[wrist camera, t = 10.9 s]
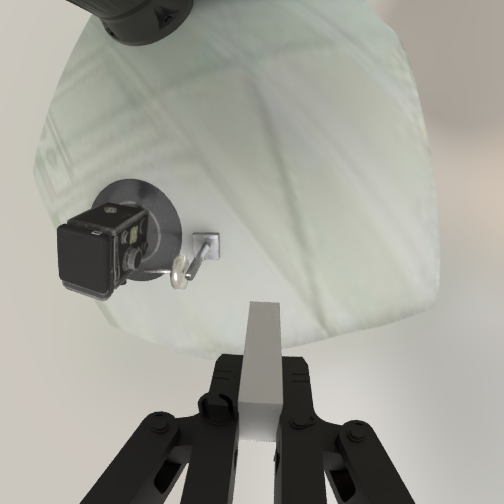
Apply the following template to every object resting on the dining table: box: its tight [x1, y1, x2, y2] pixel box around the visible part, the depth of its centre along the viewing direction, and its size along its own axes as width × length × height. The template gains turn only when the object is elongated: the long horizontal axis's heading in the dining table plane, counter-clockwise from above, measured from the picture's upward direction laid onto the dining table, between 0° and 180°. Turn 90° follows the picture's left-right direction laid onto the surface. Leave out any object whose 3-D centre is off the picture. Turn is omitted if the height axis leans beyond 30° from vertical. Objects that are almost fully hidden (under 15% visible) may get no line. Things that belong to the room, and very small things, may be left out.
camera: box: [57, 202, 149, 301], centre depth 38 cm, size 10×10×15 cm
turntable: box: [91, 179, 182, 281], centre depth 45 cm, size 18×18×1 cm
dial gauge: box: [144, 233, 220, 290], centre depth 39 cm, size 4×8×12 cm, turn 89°
